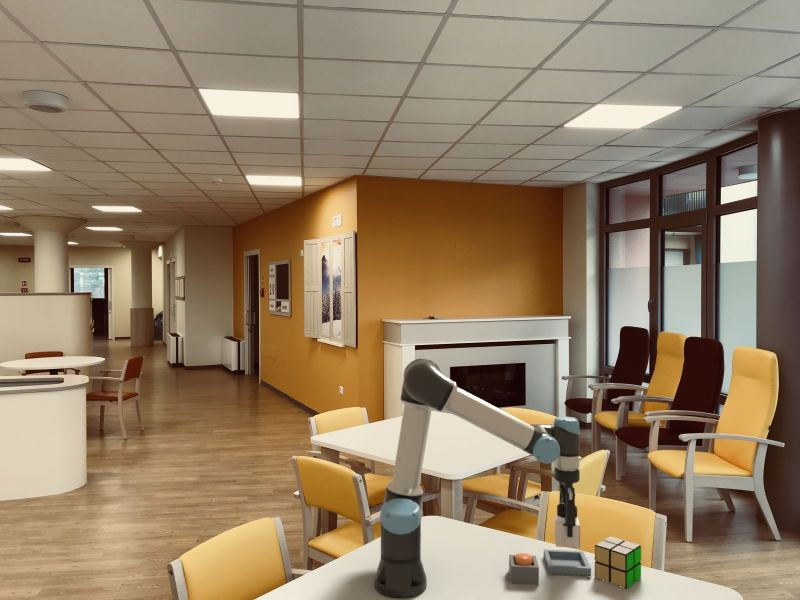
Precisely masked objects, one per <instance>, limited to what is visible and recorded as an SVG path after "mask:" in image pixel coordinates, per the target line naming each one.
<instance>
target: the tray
mask: <svg viewBox="0 0 800 600" xmlns="http://www.w3.org/2000/svg"><path fill="white" fill-rule="evenodd" d="M543 560H544V563H545V567H546V569H547V573H548V575H549V576H564V577H565V576H566V577H567V576H569V577H570V576H571V577H587V578H588V577H589V576H590V578H591V577H592V567H591V564H590V563H589V561H588V559H587V557H586V554H585V553H584V551H583V550H569V549H568V550H565V549H543Z"/></svg>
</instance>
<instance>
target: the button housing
mask: <svg viewBox="0 0 800 600" xmlns="http://www.w3.org/2000/svg"><path fill="white" fill-rule="evenodd" d="M515 555H516V554H508V573H509V580H510V584H519V585H537V586H540V585H539V584H540V566H539V563H538V559H537V556H536V555H531V556H532V566H529V565H515Z"/></svg>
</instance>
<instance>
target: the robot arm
mask: <svg viewBox="0 0 800 600" xmlns="http://www.w3.org/2000/svg"><path fill="white" fill-rule="evenodd" d="M402 377H403V381H402V387H401V394H400V398H399V399H400V401H401V403H402V404H403V412H402V419H401V423H400V424H401V425H400V430H399V436H398V437H399V438H398V442H397V443H398V444H397V450H396V456H395V462H394V469H393V475H392V479H391V481H390V482H388V483H387V484H386V488H385V494H384V500H383V502H382V506H381V509H380V514H379V520H380V560H379V563H378V566H377V569H376V572H375V576H374V589H375V590H376V592H378V593H379V594H381V595H383V596H386V597H389V598H395V599H396V598H397V599H406V598H411V597H416V596H418V595H420V594H423V593H424V592H425V591H426V589H427V585H428V584H427V582H428V580H427V579H428V578H427V574H426V572H425V569H424V565H423V562H422V559H421V558H422V557H421V556H422V555H421V554H422V552H421V551H422V550H421V548H422V547H421V546H422V545H421V543H422V542H421V540H422V534H421V533H422V529H421V528H422V518H423V517H422V512H421V511H422V510H421V509H422V502H423V495H424V490H423V488H422V487H421V477H422V470H423V465H424V459H425V452H426V446H427V441H428V440H427V439H428V434H429V429H430V421H431V416H432V415H431V414H432V411H433V409H434V410H436V411H439V412H445V411H446V412H448V413H450V414H452V415H453V416H456V417H457V418H460V419H462V420H463V421H466V422H468V423H469V424H471V425H473V426H475V427H477V428H479V429H481V430H483V431H485V432H487V433H489V434H491V435H493V436H495V437H496V438H498V439H500V440H502V441H505V442H506V443H508V444H510V445H512V446H513V447H516V448H518V449H519V450H522V451H523V452H525V453H527V454H529V455H531V456H532V457H533V458H535V459H536V460H537V461H538V462H540V463H543V464H552V463H554V480H555V481H557V482H559V498H558V499H559V500H558V501H559V502H558V504H560V503H564V508H565V524H563V526H564V546H565V547H564V548H569V547H574V526H575V525H576V524H575V506H576V501H575V500H576V493H575V487H574V486H573V484H576V483H579V482H580V461H582V457H580V443H581V442H580V436H581V431H580V422H579V420H578V419H577V418H576V417H571V416H558V417H555V418H554V421H553V423H550V424H548V423H547V424H543V423H540V424H539V423H537V424H534V423H527V422H525V421H523V420H521V419H519V418H517V417H515V416H513V415H512V414H509V413H508V412H506V411H504V410H503V409H500V408H498V407H496V406H495V405H492V404H491V403H489V402H487V401H485V400H483V399H481V398H480V397H477V396H475V395H473V394H472V393H470V392H468V391H466V390H464V389H462V388H460V387H458V385H457V383H456V381H454V380H452V379H451V378H449V377H447V376H446V375H445V374H444V373H442V372H441V369H440V367H439V366H438V364H436V362H434V361H432V360H431V359H428V358H417V359H414V360H412V361H411V362H410V363H408V364H407V365H406V367H405V368H404V371H403V376H402Z"/></svg>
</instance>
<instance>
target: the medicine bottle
mask: <svg viewBox="0 0 800 600" xmlns="http://www.w3.org/2000/svg"><path fill="white" fill-rule="evenodd" d="M563 524H565V508H564V503H560V504H559V503H558V504H557V505H556V515H555V516H554V542H555V547H558V548H566V547H565V546H564V526H563ZM575 524H576V525H575V526H574V547H568V548H571V549H580V548H581V525H580V521H579V517H578V507H577V505H575Z"/></svg>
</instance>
